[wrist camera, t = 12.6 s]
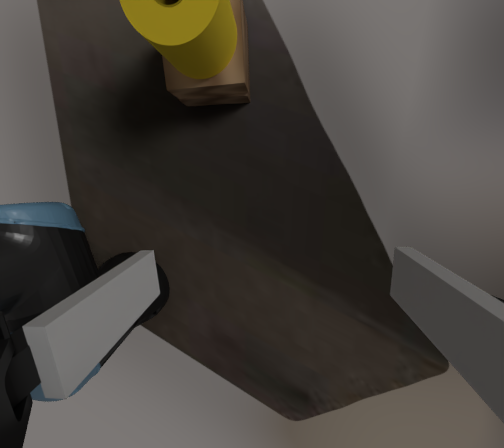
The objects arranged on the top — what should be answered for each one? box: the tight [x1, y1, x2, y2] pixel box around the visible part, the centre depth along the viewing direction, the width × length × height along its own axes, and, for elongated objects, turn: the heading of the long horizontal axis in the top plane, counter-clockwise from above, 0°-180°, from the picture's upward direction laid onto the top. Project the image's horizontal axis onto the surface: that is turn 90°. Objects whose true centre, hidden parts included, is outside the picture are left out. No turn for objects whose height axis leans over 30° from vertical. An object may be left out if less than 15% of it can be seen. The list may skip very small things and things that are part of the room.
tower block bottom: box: [178, 11, 250, 106], centre depth 38 cm, size 11×11×4 cm
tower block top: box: [162, 0, 249, 99], centre depth 33 cm, size 11×11×4 cm
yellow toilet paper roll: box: [120, 0, 237, 79], centre depth 26 cm, size 10×10×9 cm
